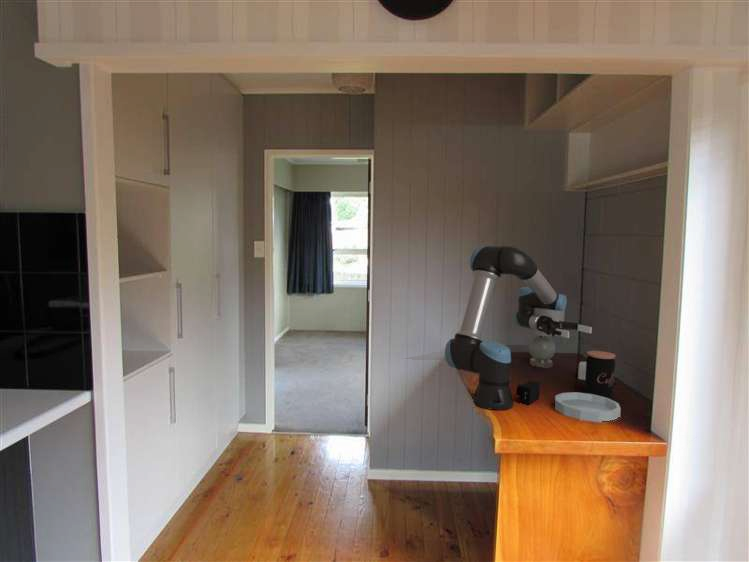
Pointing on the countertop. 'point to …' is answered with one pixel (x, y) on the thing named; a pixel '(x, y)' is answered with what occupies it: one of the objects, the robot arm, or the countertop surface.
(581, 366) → the skincare box
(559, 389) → the countertop surface
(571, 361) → the countertop surface
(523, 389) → the digital camera
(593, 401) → the bowl
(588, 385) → the coffee jar
